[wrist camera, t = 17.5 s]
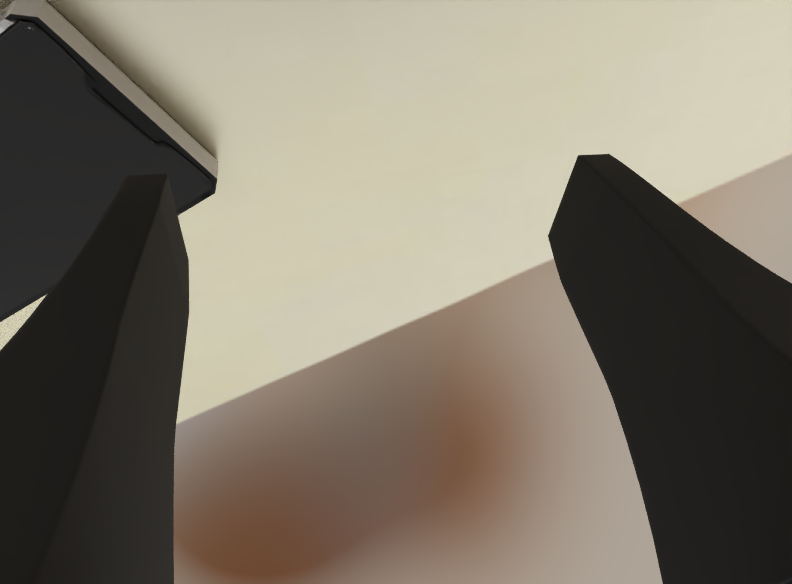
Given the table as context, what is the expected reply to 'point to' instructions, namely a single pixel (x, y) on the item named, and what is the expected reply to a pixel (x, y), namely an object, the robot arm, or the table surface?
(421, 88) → the table surface
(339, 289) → the table surface
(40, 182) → the smartphone
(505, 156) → the table surface
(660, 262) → the robot arm
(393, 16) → the table surface
